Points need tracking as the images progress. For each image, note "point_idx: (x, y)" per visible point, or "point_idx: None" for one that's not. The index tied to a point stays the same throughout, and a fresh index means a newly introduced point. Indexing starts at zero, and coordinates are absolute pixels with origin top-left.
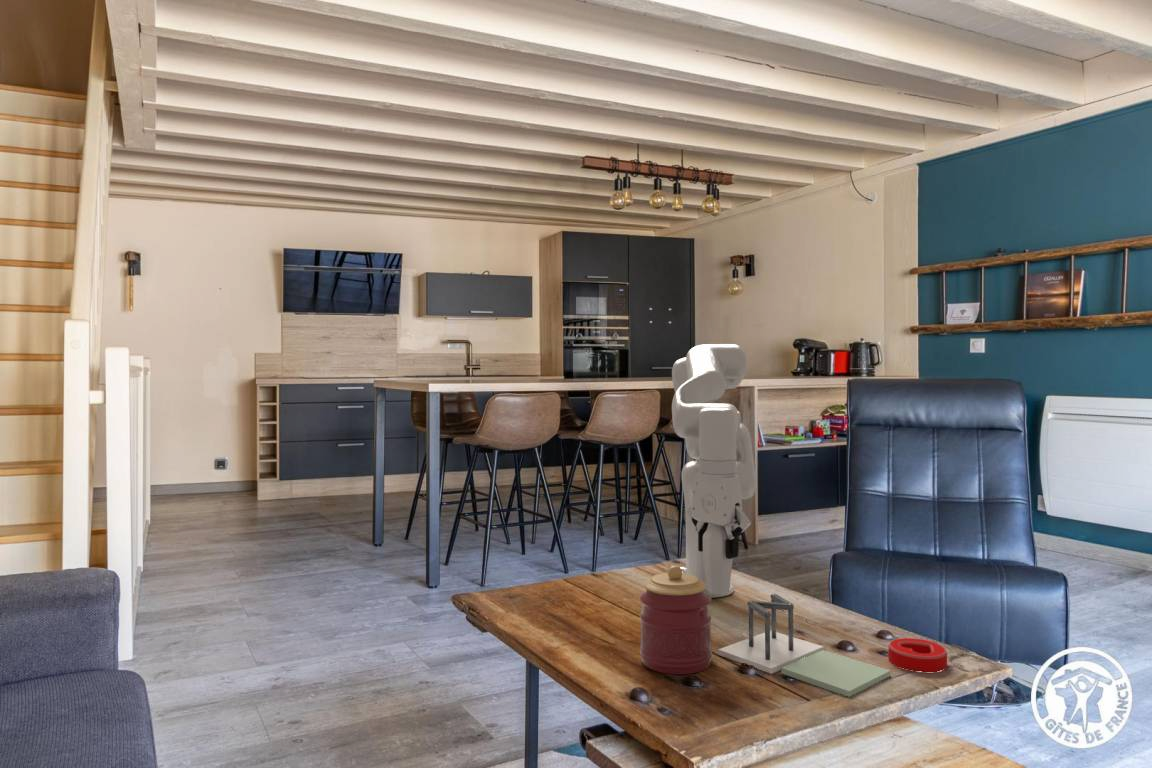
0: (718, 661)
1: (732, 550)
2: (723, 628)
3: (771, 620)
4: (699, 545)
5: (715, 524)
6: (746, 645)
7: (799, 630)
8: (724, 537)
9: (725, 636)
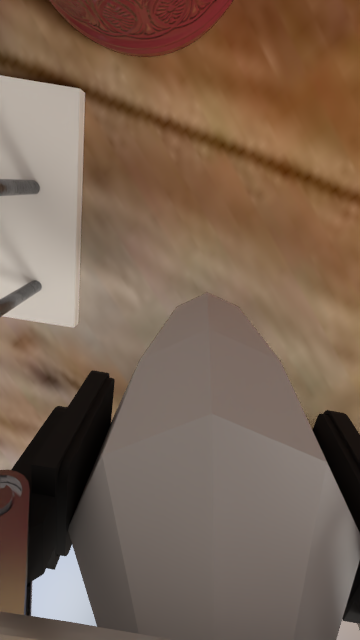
0: (51, 40)
1: (58, 420)
2: (192, 296)
3: (15, 295)
4: (349, 436)
5: (124, 637)
6: (45, 183)
7: (54, 387)
8: (96, 498)
9: (155, 246)
